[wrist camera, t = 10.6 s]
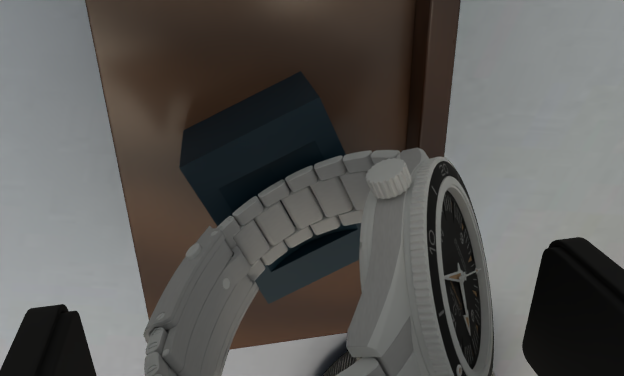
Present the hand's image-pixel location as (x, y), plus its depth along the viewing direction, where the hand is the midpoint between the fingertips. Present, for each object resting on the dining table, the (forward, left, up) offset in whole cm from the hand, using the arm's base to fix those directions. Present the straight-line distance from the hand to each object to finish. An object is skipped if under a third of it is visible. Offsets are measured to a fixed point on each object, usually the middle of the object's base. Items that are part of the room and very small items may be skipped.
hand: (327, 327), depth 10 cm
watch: (0, 0, -9) cm, 9 cm away
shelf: (0, 0, -17) cm, 17 cm away
